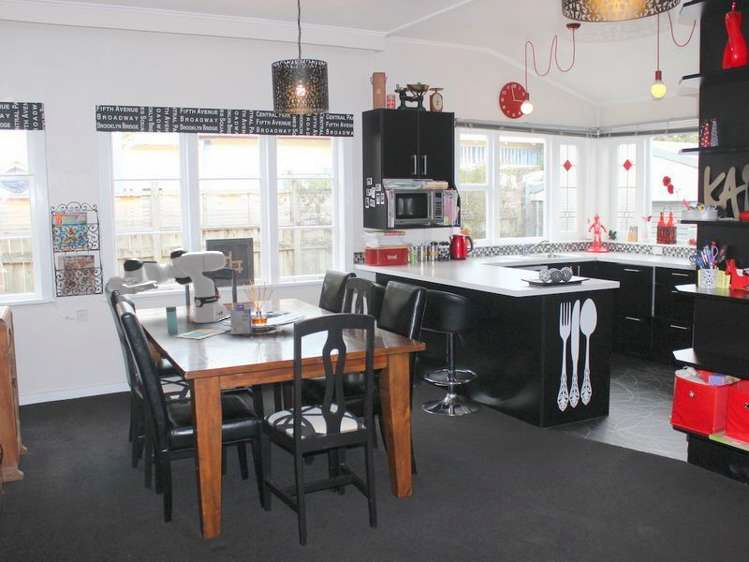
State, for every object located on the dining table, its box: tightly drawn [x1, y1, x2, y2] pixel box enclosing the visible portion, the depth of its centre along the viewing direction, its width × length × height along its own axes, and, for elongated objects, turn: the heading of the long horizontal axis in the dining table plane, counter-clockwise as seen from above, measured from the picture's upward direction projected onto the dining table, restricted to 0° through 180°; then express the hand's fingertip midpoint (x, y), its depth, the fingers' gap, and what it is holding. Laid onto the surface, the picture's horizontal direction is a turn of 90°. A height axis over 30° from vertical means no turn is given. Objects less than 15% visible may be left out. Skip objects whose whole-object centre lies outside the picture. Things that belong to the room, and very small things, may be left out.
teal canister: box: [165, 305, 179, 335], centre depth 375 cm, size 5×5×14 cm
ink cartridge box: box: [229, 304, 253, 335], centre depth 370 cm, size 10×6×14 cm, turn 90°
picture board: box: [173, 328, 226, 340], centre depth 370 cm, size 19×17×1 cm
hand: (150, 288), depth 379 cm, fingers open, 8 cm apart
